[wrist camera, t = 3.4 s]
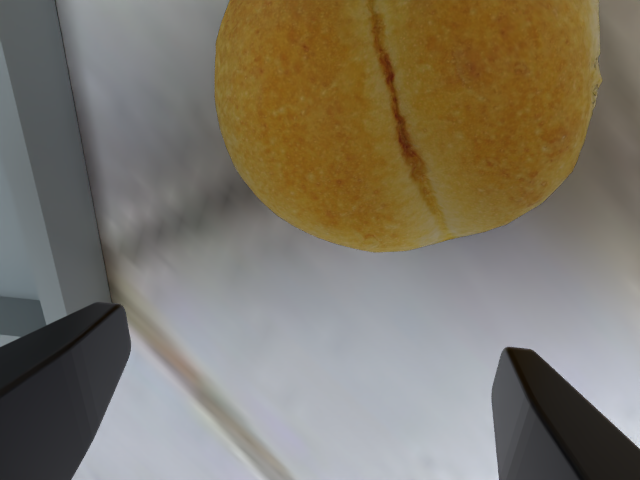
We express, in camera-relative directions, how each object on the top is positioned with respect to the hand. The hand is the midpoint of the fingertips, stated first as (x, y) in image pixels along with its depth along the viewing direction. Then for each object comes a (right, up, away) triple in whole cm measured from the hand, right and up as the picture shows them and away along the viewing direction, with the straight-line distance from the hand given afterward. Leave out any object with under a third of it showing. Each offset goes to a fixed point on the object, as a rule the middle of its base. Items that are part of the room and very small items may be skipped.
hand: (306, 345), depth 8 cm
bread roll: (+1, +4, +8) cm, 9 cm away
